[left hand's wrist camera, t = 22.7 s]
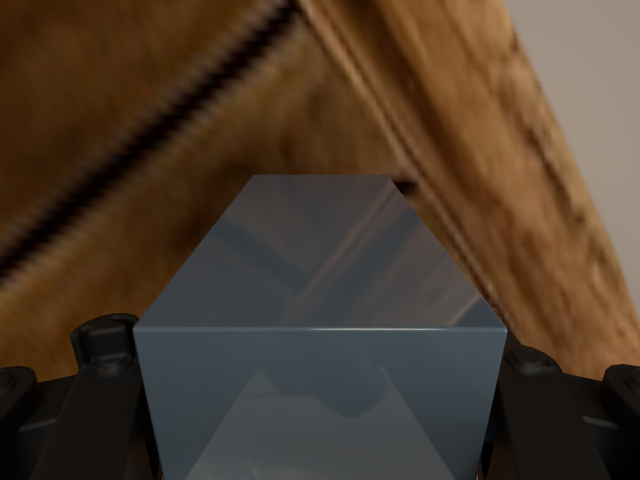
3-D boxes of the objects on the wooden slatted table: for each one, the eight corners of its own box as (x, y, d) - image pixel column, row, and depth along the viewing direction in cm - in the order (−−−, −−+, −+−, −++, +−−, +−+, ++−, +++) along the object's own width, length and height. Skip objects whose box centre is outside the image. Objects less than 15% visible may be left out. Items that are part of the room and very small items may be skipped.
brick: (378, 300, 17) (457, 577, 8) (260, 300, 17) (182, 577, 8) (386, 174, 15) (510, 328, 5) (252, 174, 15) (129, 328, 5)
